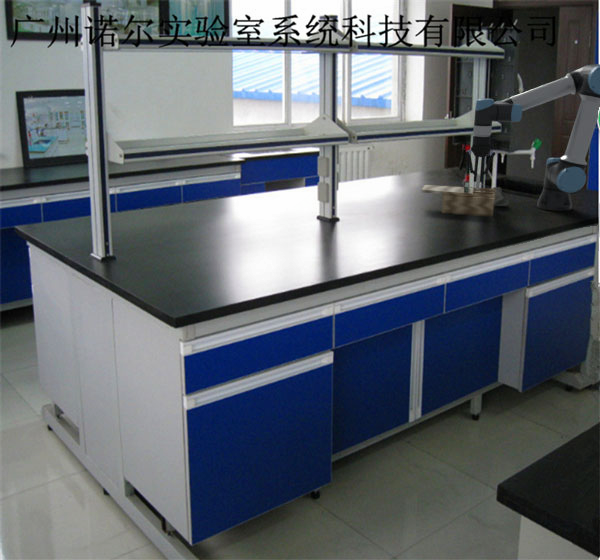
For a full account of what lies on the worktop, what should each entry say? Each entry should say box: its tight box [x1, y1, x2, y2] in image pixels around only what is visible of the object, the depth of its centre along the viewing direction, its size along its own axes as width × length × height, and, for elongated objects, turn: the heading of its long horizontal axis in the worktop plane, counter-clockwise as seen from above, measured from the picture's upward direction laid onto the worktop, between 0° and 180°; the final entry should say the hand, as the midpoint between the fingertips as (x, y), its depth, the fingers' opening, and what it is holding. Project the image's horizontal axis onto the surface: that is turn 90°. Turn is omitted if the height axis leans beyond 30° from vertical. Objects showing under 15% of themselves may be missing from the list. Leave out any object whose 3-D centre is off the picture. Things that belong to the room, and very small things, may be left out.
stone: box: [490, 186, 510, 207], centre depth 331 cm, size 10×10×10 cm
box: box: [441, 185, 495, 218], centre depth 319 cm, size 22×14×10 cm, turn 74°
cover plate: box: [421, 182, 475, 195], centre depth 320 cm, size 22×12×4 cm, turn 74°
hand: (477, 189), depth 317 cm, fingers closed
